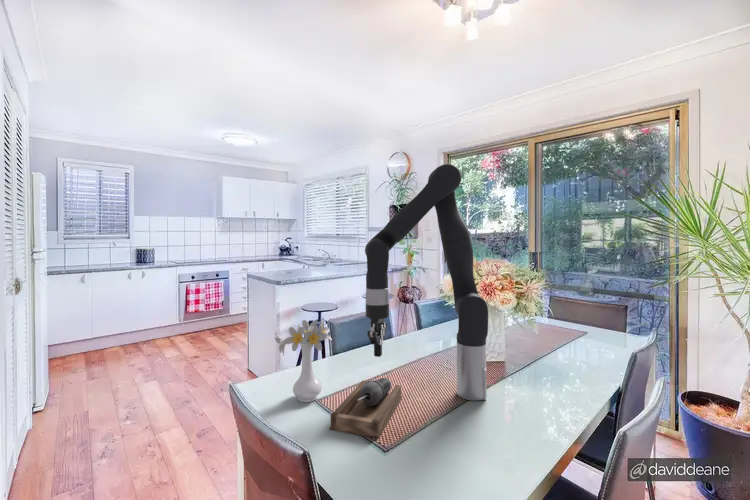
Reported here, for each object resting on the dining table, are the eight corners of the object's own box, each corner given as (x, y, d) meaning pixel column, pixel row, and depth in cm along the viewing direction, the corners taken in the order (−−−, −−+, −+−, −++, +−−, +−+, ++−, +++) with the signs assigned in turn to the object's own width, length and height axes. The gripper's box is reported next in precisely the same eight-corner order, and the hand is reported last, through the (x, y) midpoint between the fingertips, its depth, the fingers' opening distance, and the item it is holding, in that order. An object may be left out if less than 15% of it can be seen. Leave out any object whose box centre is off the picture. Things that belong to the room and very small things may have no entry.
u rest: (402, 397, 111) (402, 385, 111) (378, 438, 89) (378, 423, 89) (361, 392, 116) (361, 380, 116) (329, 429, 93) (329, 415, 93)
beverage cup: (396, 395, 114) (374, 413, 96) (376, 396, 117) (351, 414, 98) (393, 372, 116) (371, 386, 97) (373, 374, 118) (348, 387, 100)
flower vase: (270, 401, 110) (268, 323, 109) (320, 384, 122) (318, 314, 121) (289, 417, 100) (287, 331, 100) (341, 397, 112) (340, 321, 112)
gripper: (382, 306, 102) (382, 364, 103) (394, 299, 115) (395, 350, 115) (358, 305, 105) (359, 361, 105) (373, 298, 117) (373, 348, 118)
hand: (378, 355), depth 110 cm, fingers closed
